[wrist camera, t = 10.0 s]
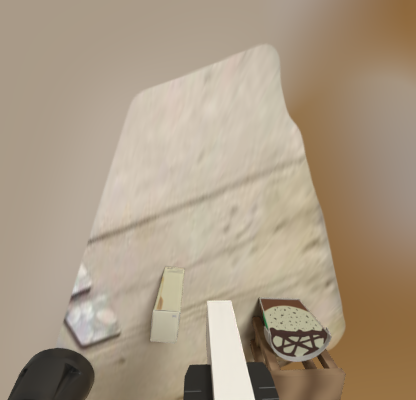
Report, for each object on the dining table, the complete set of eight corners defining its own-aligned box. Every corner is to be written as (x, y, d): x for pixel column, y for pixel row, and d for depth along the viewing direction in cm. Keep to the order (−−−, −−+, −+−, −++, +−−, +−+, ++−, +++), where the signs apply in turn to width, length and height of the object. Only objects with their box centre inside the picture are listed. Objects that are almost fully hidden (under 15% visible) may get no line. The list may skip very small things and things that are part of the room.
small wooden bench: (248, 347, 48) (266, 415, 35) (250, 316, 46) (271, 376, 34) (301, 346, 49) (337, 412, 36) (305, 315, 47) (345, 374, 34)
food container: (249, 320, 47) (263, 364, 37) (252, 297, 45) (267, 335, 36) (300, 321, 47) (327, 364, 38) (305, 298, 46) (334, 336, 36)
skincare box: (164, 265, 43) (152, 307, 31) (185, 267, 43) (181, 310, 31) (161, 292, 44) (148, 343, 32) (181, 294, 44) (176, 344, 32)
